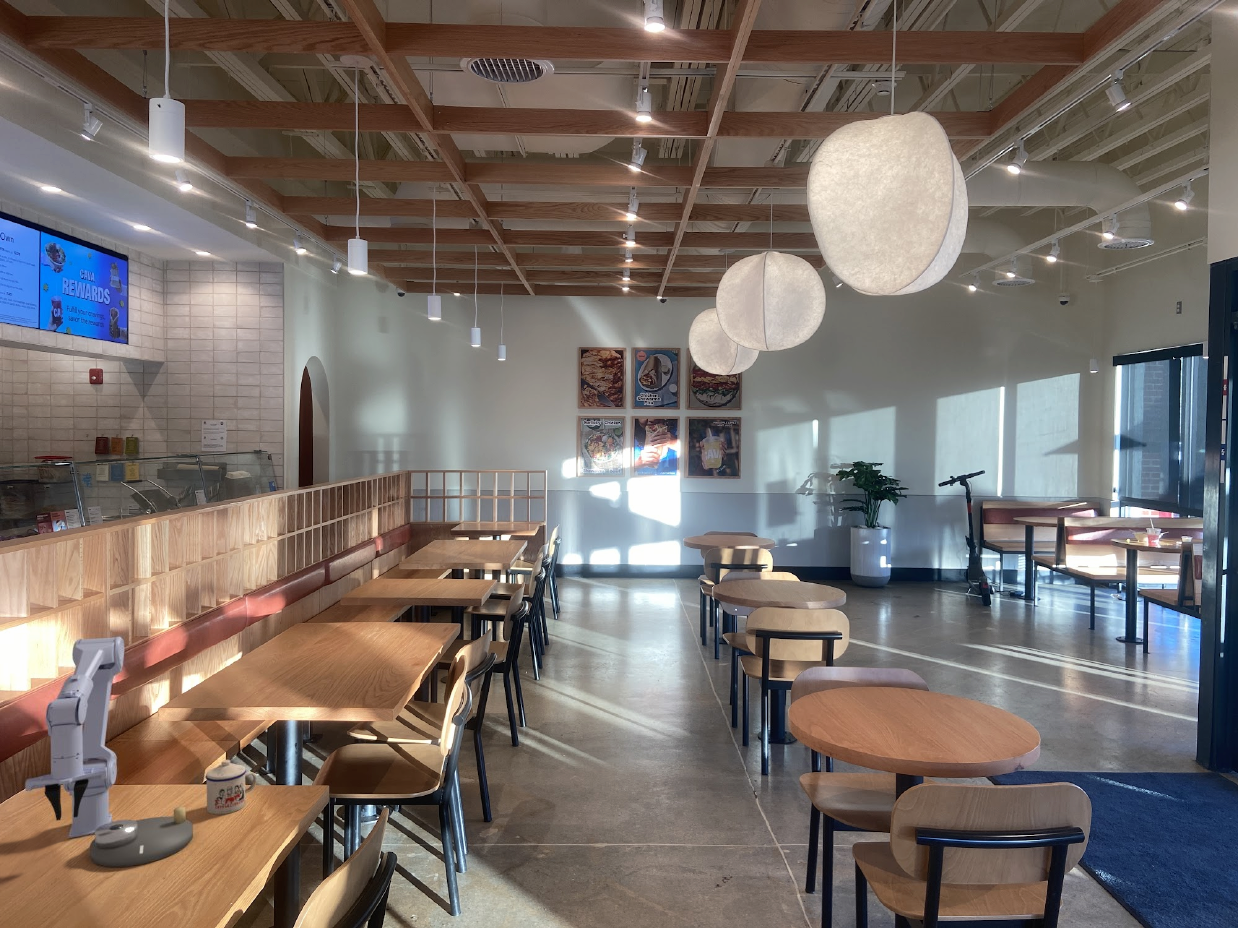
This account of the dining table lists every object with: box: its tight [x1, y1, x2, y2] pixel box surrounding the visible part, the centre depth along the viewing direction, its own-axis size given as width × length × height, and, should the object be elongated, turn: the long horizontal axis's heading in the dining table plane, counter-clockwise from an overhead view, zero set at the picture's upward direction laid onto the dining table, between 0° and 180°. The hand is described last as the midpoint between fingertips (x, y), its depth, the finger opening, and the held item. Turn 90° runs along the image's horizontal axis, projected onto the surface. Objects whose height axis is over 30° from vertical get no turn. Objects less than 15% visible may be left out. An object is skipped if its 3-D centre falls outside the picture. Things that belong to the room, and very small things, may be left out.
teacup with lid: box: [205, 759, 258, 815], centre depth 207 cm, size 12×9×12 cm
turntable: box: [89, 806, 194, 868], centre depth 186 cm, size 20×20×5 cm
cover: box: [94, 819, 137, 849], centre depth 184 cm, size 8×8×3 cm
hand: (67, 816), depth 179 cm, fingers open, 2 cm apart
